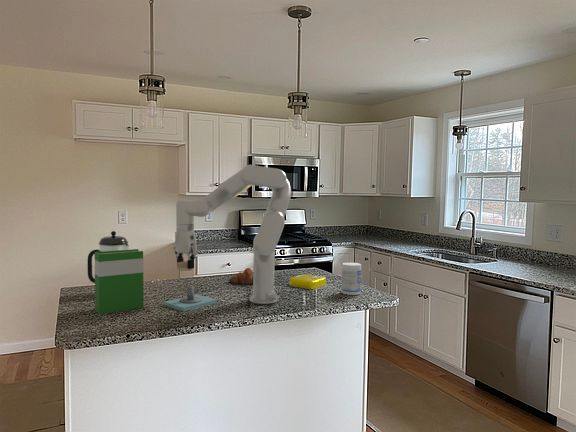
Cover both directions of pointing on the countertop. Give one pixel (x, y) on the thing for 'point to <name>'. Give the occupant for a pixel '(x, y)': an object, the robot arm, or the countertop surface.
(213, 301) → the teal plate with knob
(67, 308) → the countertop surface
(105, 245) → the coffee press
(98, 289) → the hardback book
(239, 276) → the pastry
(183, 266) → the ring
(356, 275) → the supplement tub
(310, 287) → the element tile
